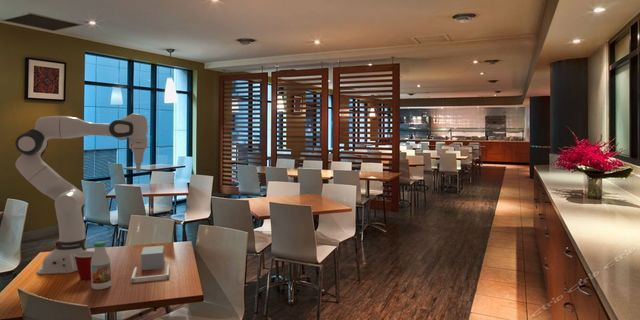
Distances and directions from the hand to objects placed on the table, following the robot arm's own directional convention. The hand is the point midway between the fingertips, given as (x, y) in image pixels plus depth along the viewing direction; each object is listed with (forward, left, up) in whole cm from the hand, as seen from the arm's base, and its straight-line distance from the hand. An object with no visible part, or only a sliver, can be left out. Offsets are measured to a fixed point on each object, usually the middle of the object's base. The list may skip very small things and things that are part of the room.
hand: (138, 172), depth 230 cm
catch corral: (+6, -25, -47) cm, 53 cm away
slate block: (+6, -9, -47) cm, 48 cm away
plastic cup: (-22, -21, -47) cm, 56 cm away
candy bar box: (-37, +29, -47) cm, 67 cm away
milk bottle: (-14, -35, -47) cm, 60 cm away
